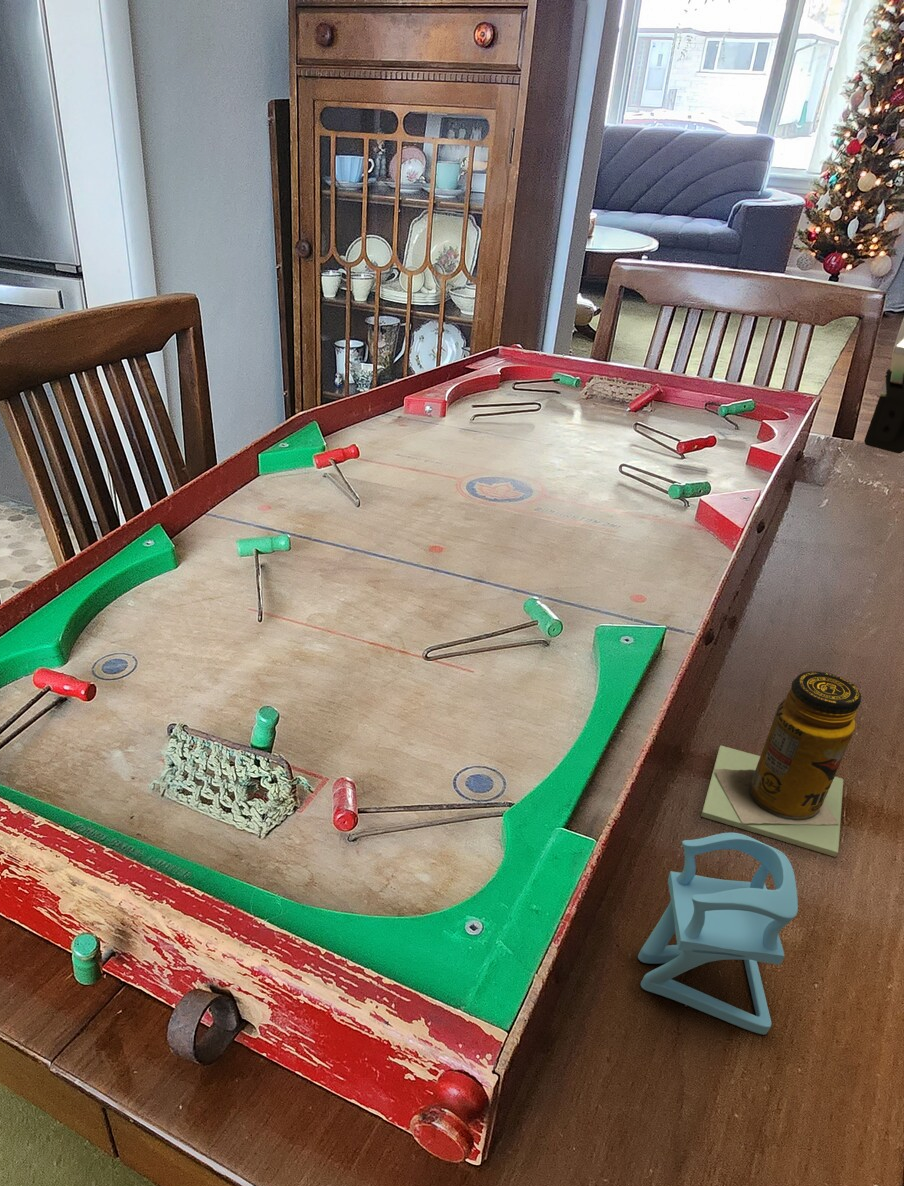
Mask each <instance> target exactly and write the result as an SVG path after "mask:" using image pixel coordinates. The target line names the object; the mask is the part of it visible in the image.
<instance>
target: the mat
mask: <svg viewBox="0 0 904 1186" xmlns="http://www.w3.org/2000/svg"><path fill="white" fill-rule="evenodd" d="M760 756H761V755H757V754H754V753H750V752H746V751H743V750H739V749H735V748H732V747H728V746H724V745H719V747H718V751H717V755H716V759H715V762H714V766H713V768H712V769H713V770H712V774H711V776H710V777H711V778H710V781H709V784H708V787H707V792H706V796H705V800H704V804H703V807H702V810H701V814H700V817H701V818H704V819H708V820H711V821H715V822H717V823H721V824H725V825H727V826H732V827H735V828H738V829H741V830H744V831H747V832H751V833H754V834H757V835H760V836H764V837H767V838H771V839H774V840H777V841H781V842H784V843H788V844H790V845H794V846H798V847H800V848H804V849H807V850H810V851H814V852H817V853H821V854H824V855H826V856H831V857H834V858H836V857H837V856H838V854H839V848H840V833H841V821H842V807H843V806H842V805H843V792H844V791H843V790H844V778H841V777H839V776H838V777H837V776H835V777H834V779H833V782H832V783H831V786H830V789H829V790H828V793H827V796H826V798H825V800H824V803H825V804H826V806H827V807H828V809H829V810H830V811H831V813H832V814H833V815H834V817H835V818H836V819H837V821H838V822H839V824H832V825H825V824H821V825H813V824H811V825H808V824H800V825H798V824H780V823H775V824H770V823H762V824H757V823H749V824H747V823H744V824H743V823H742V821H741V819H740V818H739V816H738V815H737V813H736V811H735V809H734V807H733V805H732V804H731V803H730V802H729V798H728V796H727V795H726V793H725V791H724V789H723V787H722V785H721V783H720V781H719V779H718V777H717V774H716V772H715V770H714V769H729V770H756V767H757V764H758V762H759V759H760Z"/></svg>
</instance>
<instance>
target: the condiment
mask: <svg viewBox="0 0 904 1186" xmlns="http://www.w3.org/2000/svg"><path fill="white" fill-rule="evenodd" d="M861 703H862V694H861V691H860V690H859V688H857V686H856V684H855V683H852V682H851V681H849V680H847V679H846V678H844V677H841V676H838V675H835V674H833V673H829V672H824V671H823V672H822V671H817V670H816V671H811V670H810V671H803V672H802V673H800V674H798V675H797V676H796V678H794V679H793V681H792V682H791V687H790V689H789V691H788V692H787V695H786V698H785V699H783V700H782V701H781V702H780V703H779V705H778V707H777V709H776V712H775V715H774V716H773V720H772V723H771V725H770V729H769V732H768V733H767V737H766V740H765V743H764V744H763V748H762V750H761V754H760V755H759V756H760V759H759V762H758V764H757V767H756V770H729V769H714V768H713V769H714V770H715V772H716V774H717V777H718V779H719V781H720V783H721V785H722V787H723V789H724V791H725V793H726V795H727V796H728V798H729V802H730V803H731V804H732V805H733V807H734V809H735V811H736V813H737V815H738V816H739V818H740V819H741V821H742V823H743V824H744V823H747V824H749V823H757V824H762V823H770V824H775V823H780V824H798V825H800V824H808V825H811V824H813V825H821V824H825V825H832V824H839V822H838V821H837V819H836V818H835V817H834V815H833V814H832V813H831V811H830V810H829V809H828V807H827V806H826V804H825V803H824V800H825V798H826V796H827V793H828V790H829V789H830V786H831V783H832V782H833V779H834V777H836V774H837V771H838V770H839V767H840V765H841V762H842V760H843V757H844V755H845V753H846V751H847V748H848V746H849V743H850V742H851V740H852V738H853V735H854V732H855V730H856V720H855V718H856V716H857V710H858V709H859V706H860V705H861Z"/></svg>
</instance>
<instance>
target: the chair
mask: <svg viewBox="0 0 904 1186" xmlns="http://www.w3.org/2000/svg"><path fill="white" fill-rule="evenodd" d="M681 843H682V847H683V852H684V864H683V865H684V866H683V869H682V871H681V872H679V871H672V870H671V871H670V872H669V875H668V878H667V884H668V885H667V886H668V891H669V892H668V893H669V896H670V901H669V903H668V904H667V907H666V908H665V910H664V912H663V914H662V915H661V917H660V919H659V920H658V922H657V923H656V925H655V927H654V928H653V929H652V932H651V933H650V935H649V936H648V938H647V939H646V941H645V942H644V944H643V945H642V947H641V948H640V950H639V952H638V955H637V959H638V960H639V961H640V962H641V963H643V964H649V965H650V964H651V965H659V964H661V965H660V966H658V967H656V968H654V969H652V970H650V971H648V972H646V973H645V974H644V976H643V978H642V980H641V981H640V983H639V984H640V988H641V989H642V990H644V991H646V992H649V993H651V994H656V995H659V996H660V997H661V996H662V997H665V998H667V999H669V1000H673V1001H675V1002H677V1003H680V1004H683V1005H685V1006H688V1007H690V1008H693V1009H694V1010H698V1011H700V1012H701V1013H705V1014H707V1015H709V1016H711V1017H715V1018H717V1019H719V1020H721V1021H724V1022H726V1023H729V1024H731V1025H734V1026H736V1027H739V1028H741V1029H744V1030H747V1031H749V1032H752V1033H755V1034H758V1035H764V1036H765V1035H767V1034H768V1033H769V1030H770V1029H771V1027H772V1024H773V1023H772V1018H771V1014H770V1011H769V1007H768V1003H767V998H766V994H765V990H764V985H763V982H762V981H763V980H762V977H761V973H760V968H759V963H765V964H770V965H771V964H772V965H777V966H781V965H782V963H783V961H784V959H785V957H786V956H785V951H784V948H783V943H782V940H781V937H780V934H779V933H780V932H781V931H782V930H783V929H784V928H785V927H786V926H787V925H789V923H791V922H792V921H793V920H794V919H795V918H796V917H797V914H798V911H799V901H798V900H799V899H798V889H797V888H798V887H797V882H796V875H795V871H794V868H793V866H792V863H791V862H790V859H789V858H788V857H787V855H786V854H785V853H784V852H783V851H781V850H779V849H778V848H775V847H773V846H771V845H768V844H767V843H764V842H762V841H760V840H758V839H756V838H753V837H752V836H749V835H746V834H743V833H738V832H722V833H716V834H713V835H709V836H705V837H701V838H696V839H684V840H682V842H681ZM720 850H734V851H737V852H739V851H740V852H742V853H744V854H747V855H748V856H750V857H752V858H754V859H755V860H756V861H758V862H759V863H761V864H759V867H758V868H757V870H756V872H755V873H754V874H753V876H752V878H751V880H750V881H743V880H732V879H723V878H715V877H707V876H703V875H698V874H696V870H697V869H696V868H697V866H696V865H697V864H696V857H695V856H697V855H701V854H704V853H708V852H713V851H720ZM769 874H770V875H771V877H772V880H773V884H774V887H775V889H768V887H767V884H766V880H767V878H768V876H769ZM673 936H675V939H676V940H675V941H676V944H671V945H670V944H669V943H670V941H671V939H672V938H673ZM742 960H743V963H744V967H745V971H746V977H747V980H748V985H749V991H750V994H751V998H752V1004H753V1008H754V1012H755V1014H752V1013H750V1012H748V1011H746V1010H743V1009H741V1008H738V1007H737V1006H733V1005H732V1004H730V1003H728V1002H725V1001H722V1000H720V999H718V998H715V997H714V996H712V995H709V994H707V993H704V992H702V991H699V990H698V989H696V988H693V987H691V986H688V985H686V984H683V983H681V982H679V981H676V980H675V979H674V978H677V977H678V976H679V975H682V974H684V973H685V972H688V971H690V970H692V969H695V968H698V967H700V966H702V965H704V964H708V963H713V962H716V961H742ZM758 962H759V963H758Z"/></svg>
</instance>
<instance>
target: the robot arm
mask: <svg viewBox="0 0 904 1186" xmlns="http://www.w3.org/2000/svg"><path fill="white" fill-rule="evenodd" d="M885 374H886V375H885V381H884V383H883V385H882V387H881V389H880V391H879V398H878V399H877V403H876V405H875V409H874V411H873V415H872V417H871V420H870V423H869V425H868V428H867V431H866V435H865V437H864V441H863V442H864V444H865V445H866V446H867V447H872V448H875V449H879V450H883V451H887V452H891V453H895V454H902V453H904V317H903V318H902V320H901V324H900V327H899V330H898V333H897V335H896V339H895V343H894V346H893V351H892V353H891V361H890V368H888V369H887V370H886V372H885Z"/></svg>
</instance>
